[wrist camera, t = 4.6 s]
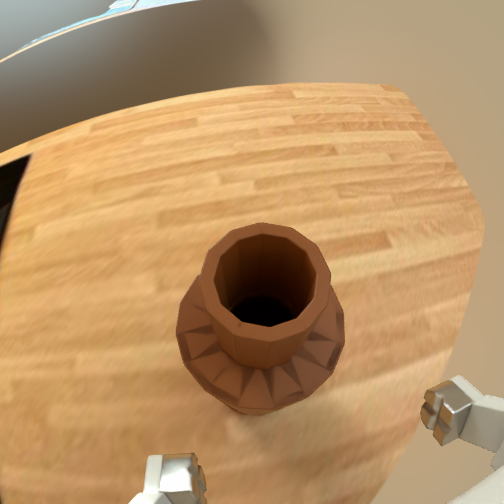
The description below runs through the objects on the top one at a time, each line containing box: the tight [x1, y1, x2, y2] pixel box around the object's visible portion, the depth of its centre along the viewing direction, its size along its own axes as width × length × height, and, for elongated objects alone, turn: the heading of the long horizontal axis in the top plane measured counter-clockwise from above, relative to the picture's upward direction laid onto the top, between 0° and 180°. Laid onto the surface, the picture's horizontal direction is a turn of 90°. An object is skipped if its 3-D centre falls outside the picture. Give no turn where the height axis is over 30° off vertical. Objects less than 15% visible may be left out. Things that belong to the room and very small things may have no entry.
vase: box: [176, 223, 345, 415], centre depth 15 cm, size 6×6×17 cm
